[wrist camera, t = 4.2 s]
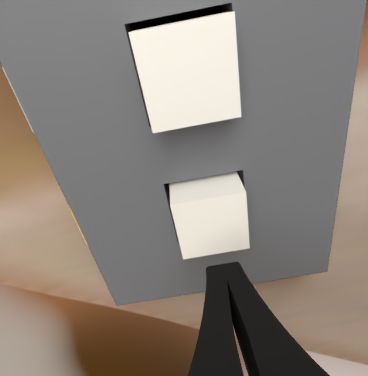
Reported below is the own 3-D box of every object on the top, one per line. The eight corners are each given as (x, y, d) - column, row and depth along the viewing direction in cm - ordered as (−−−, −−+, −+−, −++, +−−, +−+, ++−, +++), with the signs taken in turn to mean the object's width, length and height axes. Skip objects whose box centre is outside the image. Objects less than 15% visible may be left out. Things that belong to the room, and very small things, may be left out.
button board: (403, -694, 7) (515, -1032, 5) (312, 247, 23) (327, 271, 21) (-230, -510, 7) (-394, -730, 5) (117, 280, 23) (112, 306, 21)
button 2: (235, 169, 17) (246, 192, 14) (240, 222, 19) (249, 248, 16) (169, 181, 17) (170, 205, 15) (181, 232, 19) (183, 259, 17)
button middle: (222, 12, 12) (234, 10, 10) (230, 102, 14) (241, 116, 12) (134, 30, 13) (128, 32, 10) (154, 116, 15) (152, 133, 12)
